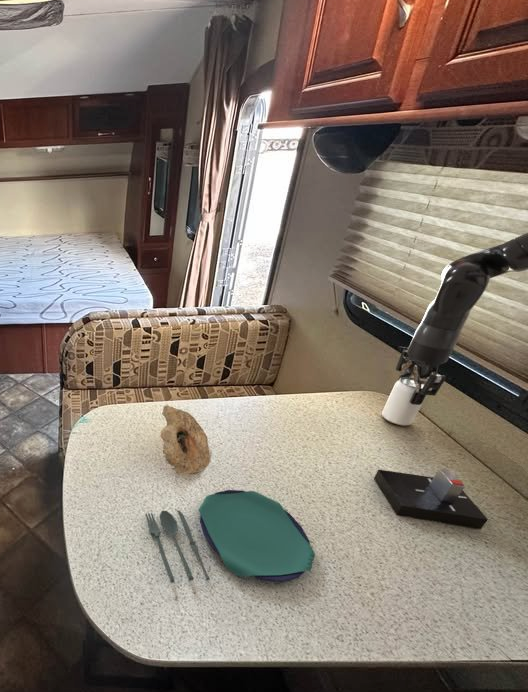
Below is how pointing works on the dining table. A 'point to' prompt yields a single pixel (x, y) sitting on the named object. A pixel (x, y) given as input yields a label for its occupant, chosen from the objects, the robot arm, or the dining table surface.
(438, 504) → the stove
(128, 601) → the dining table surface
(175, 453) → the brown hollow rock
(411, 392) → the can
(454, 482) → the stove knob
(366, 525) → the dining table surface
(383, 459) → the dining table surface
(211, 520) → the cutlery set
